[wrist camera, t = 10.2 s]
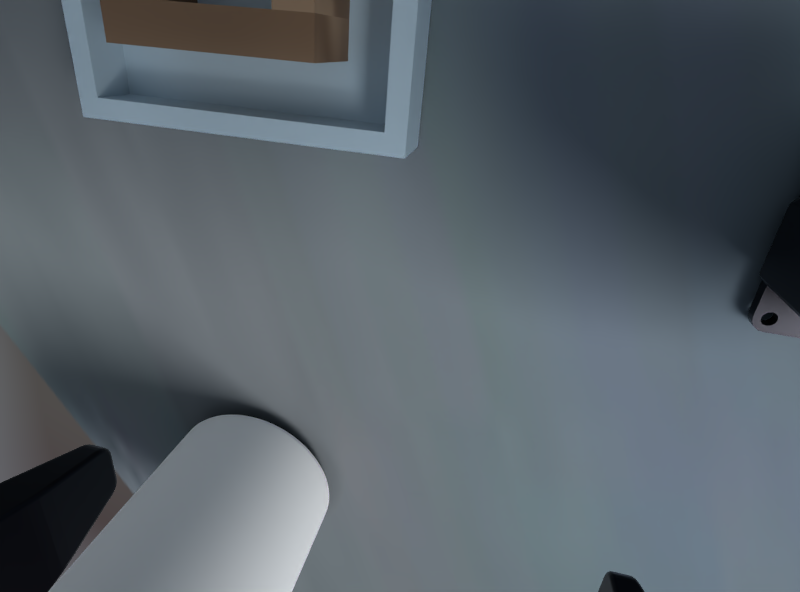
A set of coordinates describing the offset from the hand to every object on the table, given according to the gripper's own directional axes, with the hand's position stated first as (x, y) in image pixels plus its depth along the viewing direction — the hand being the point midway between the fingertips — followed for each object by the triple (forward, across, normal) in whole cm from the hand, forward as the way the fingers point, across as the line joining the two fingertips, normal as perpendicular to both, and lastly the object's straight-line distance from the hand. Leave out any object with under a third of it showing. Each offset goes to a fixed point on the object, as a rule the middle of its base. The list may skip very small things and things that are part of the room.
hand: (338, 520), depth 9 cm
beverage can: (+12, +8, +13) cm, 20 cm away
